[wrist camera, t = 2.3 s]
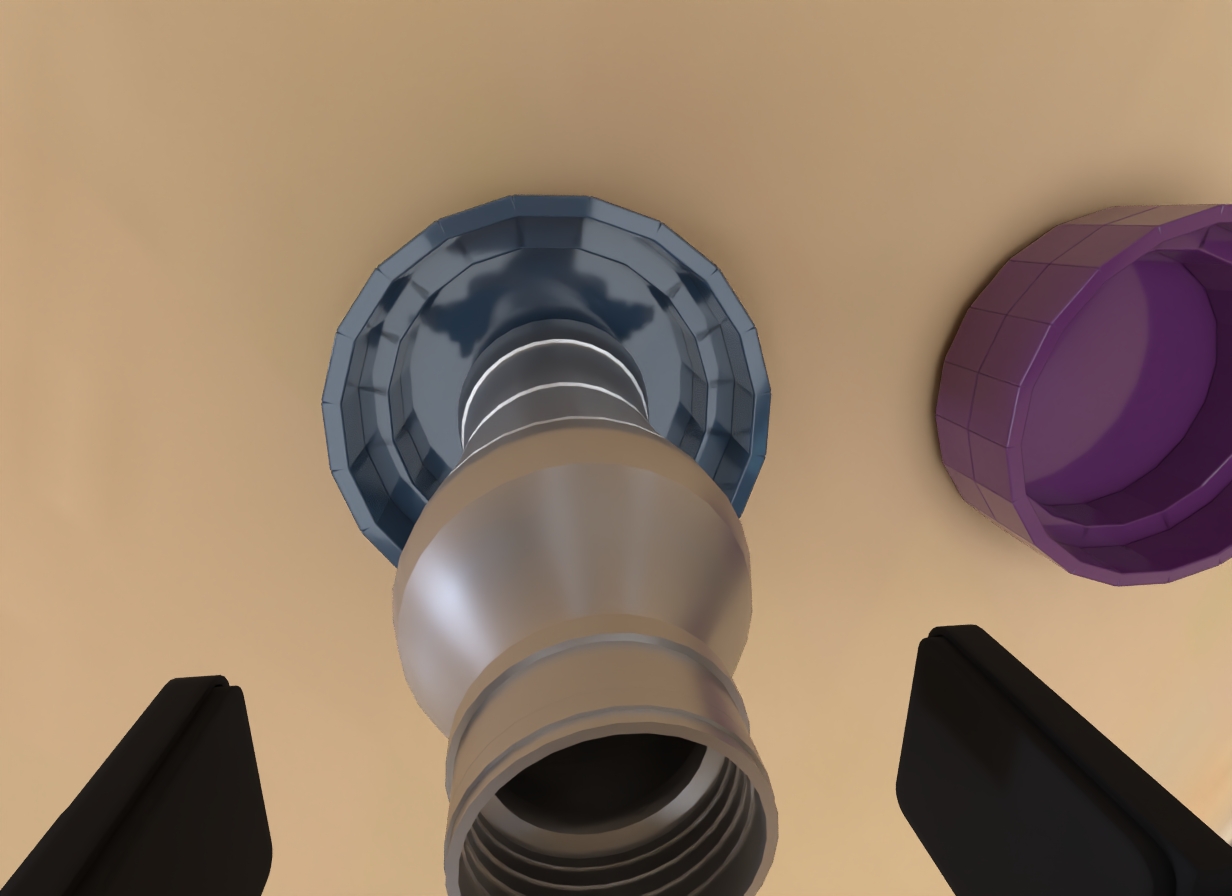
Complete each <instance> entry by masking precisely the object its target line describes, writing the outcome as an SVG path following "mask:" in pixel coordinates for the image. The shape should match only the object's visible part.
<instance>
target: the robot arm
mask: <svg viewBox="0 0 1232 896" xmlns="http://www.w3.org/2000/svg"><path fill="white" fill-rule="evenodd" d="M896 795H897V800H898V803H899V806H900V809H901V811H902V813H903V814H904V816H905V818H906V819H907V821H908V822H909V824H910V825H911V827H912V828H913V830H914V832H915V833H916V835H917V836H918V838H919V839H920V841H921V842H922V844H923V846H924V847H925V849H926V850H927V852H928V853H929V855H930V856H931V858H932V860H933V861H934V863H935V864H936V866H937V867H938V869H939V870H940V872H941V873H942V875H943V877H944V878H945V880H946V881H947V883H948V884H949V886H950V887H951V889H952V891H953V892H954V894H955V895H956V896H1232V847H1231V846H1230V845H1229V844H1228V843H1226V842H1225V841H1224V840H1223V839H1222V838H1221V837H1220V836H1218V835H1217V834H1216V833H1215V832H1214V831H1213V830H1212V829H1210V828H1209V827H1208V826H1207V825H1206V824H1205V823H1204V822H1202V821H1201V820H1200V819H1199V818H1198V817H1197V816H1196V815H1194V814H1193V813H1192V812H1191V811H1190V810H1189V809H1188V808H1186V807H1185V806H1184V805H1183V804H1182V803H1181V802H1180V801H1178V800H1177V799H1176V798H1175V797H1174V796H1173V795H1172V794H1170V793H1169V792H1168V791H1167V790H1166V789H1165V788H1164V787H1162V786H1161V785H1160V784H1159V783H1158V782H1157V781H1156V780H1154V779H1153V778H1152V777H1151V776H1150V775H1149V774H1148V773H1146V772H1145V771H1144V770H1143V769H1142V768H1141V767H1140V766H1138V765H1137V764H1136V763H1135V762H1134V761H1133V760H1132V759H1130V758H1129V757H1128V756H1127V755H1126V754H1125V753H1124V752H1122V751H1121V750H1120V749H1119V748H1118V747H1117V746H1116V745H1114V744H1113V743H1112V742H1111V741H1110V740H1109V739H1108V738H1106V737H1105V736H1104V735H1103V734H1102V733H1101V732H1100V731H1098V730H1097V729H1096V728H1095V727H1094V726H1093V725H1092V724H1090V723H1089V722H1088V721H1087V720H1086V719H1085V718H1084V717H1082V716H1081V715H1080V714H1079V713H1078V712H1077V711H1076V710H1074V709H1073V708H1072V707H1071V706H1070V705H1069V704H1068V703H1066V702H1065V701H1064V700H1063V699H1062V698H1061V697H1060V696H1058V695H1057V694H1056V693H1055V692H1054V691H1053V690H1052V689H1050V688H1049V687H1048V686H1047V685H1046V684H1045V683H1044V682H1042V681H1041V680H1040V679H1039V678H1038V677H1037V676H1036V675H1035V674H1033V673H1032V672H1031V671H1030V670H1029V669H1028V668H1027V667H1025V666H1024V665H1023V664H1022V663H1021V662H1020V661H1019V660H1017V659H1016V658H1015V657H1014V656H1013V655H1012V654H1011V653H1009V652H1008V651H1007V650H1006V649H1005V648H1004V647H1003V646H1001V645H1000V644H999V643H998V642H997V641H996V640H995V639H993V638H992V637H991V636H990V635H989V634H988V633H987V632H985V631H984V630H983V629H982V628H980V627H979V626H977V625H971V624H970V625H956V626H941V627H935V628H933V629H932V630H931V632H930V633H929V636H928V638H924V639H922V641H921V642H920V644H919V647H918V653H917V659H916V665H915V671H914V677H913V683H912V690H911V696H910V702H909V708H908V714H907V720H906V726H905V732H904V738H903V744H902V750H901V756H900V762H899V768H898V775H897V781H896ZM271 863H272V842H271V836H270V831H269V826H268V821H267V815H266V810H265V805H264V800H263V794H262V789H261V784H260V779H259V773H258V768H257V763H256V758H255V752H254V747H253V742H252V737H251V731H250V726H249V721H248V716H247V710H246V705H245V700H244V695H243V692H242V690H241V688H240V687H239V686H229V683H228V681H227V679H226V678H225V677H224V676H221V675H215V676H200V677H185V678H175V679H172V680H170V681H169V682H168V683H167V684H166V685H165V686H164V687H163V689H162V690H161V691H160V692H159V694H158V695H157V696H156V697H155V699H154V700H153V701H152V702H151V704H150V705H149V706H148V707H147V709H146V710H145V711H144V712H143V714H142V715H141V716H140V717H139V719H138V720H137V721H136V723H135V724H134V725H133V726H132V728H131V729H130V730H129V731H128V733H127V734H126V735H125V736H124V738H123V739H122V740H121V741H120V743H119V744H118V745H117V746H116V748H115V749H114V750H113V751H112V753H111V754H110V755H109V757H108V758H107V759H106V760H105V762H104V763H103V764H102V765H101V767H100V768H99V769H98V770H97V772H96V773H95V774H94V775H93V777H92V778H91V779H90V780H89V782H88V783H87V784H86V785H85V787H84V788H83V789H82V791H81V792H80V793H79V794H78V796H77V797H76V798H75V799H74V801H73V802H72V803H71V804H70V806H69V807H68V808H67V809H66V810H65V811H64V812H63V813H62V814H61V815H60V816H59V818H58V819H57V820H56V821H55V823H54V824H53V825H52V826H51V828H50V829H49V830H48V831H47V833H46V834H45V835H44V836H43V838H42V839H41V840H40V841H39V843H38V844H37V845H36V846H35V848H34V849H33V850H32V851H31V853H30V854H29V855H28V857H27V858H26V859H25V860H24V862H23V863H22V864H21V865H20V867H19V868H18V869H17V870H16V872H15V873H14V874H13V875H12V877H11V878H10V879H9V880H8V882H7V883H6V884H5V885H4V887H3V888H2V889H1V890H0V896H261V894H262V892H263V889H264V887H265V884H266V882H267V879H268V876H269V873H270V868H271Z"/></svg>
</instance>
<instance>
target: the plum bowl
mask: <svg viewBox="0 0 1232 896" xmlns="http://www.w3.org/2000/svg"><path fill="white" fill-rule="evenodd" d="M944 361H945V362H944V364H943V370H942V376H941V382H940V388H939V394H938V400H937V407H936V415H935V416H936V423H937V429H938V436H939V443H940V449H941V456H942V461H943V464H944V466H945V468H946V469H947V471H948V473H949V475H950V477H951V478H952V480H953V482H954V484H955V485H956V487H957V489H958V491H959V492H960V494H961V496H962V498H963V499H964V500H965V501H966V502H967V503H968V504H969V505H971V506H972V507H973V508H975V509H976V510H977V511H978V512H980V513H981V514H982V515H984V516H985V517H986V518H987V519H989V520H990V521H991V522H992V523H994V524H995V525H996V526H998V527H999V528H1001V529H1003V530H1004V531H1006V532H1007V533H1009V534H1010V535H1012V536H1013V537H1015V538H1016V539H1018V540H1019V541H1021V542H1023V543H1024V544H1026V545H1027V546H1029V547H1030V548H1032V549H1033V550H1035V551H1036V552H1038V553H1039V554H1041V555H1042V556H1044V557H1045V558H1047V559H1049V560H1050V561H1052V562H1053V563H1055V564H1056V565H1058V566H1059V567H1061V568H1062V569H1064V570H1065V571H1067V572H1068V573H1071V574H1073V575H1077V576H1080V577H1084V578H1087V579H1091V580H1095V581H1098V582H1102V583H1105V584H1109V585H1113V586H1134V585H1150V584H1165V583H1170V582H1173V581H1176V580H1179V579H1181V578H1184V577H1187V576H1190V575H1193V574H1196V573H1199V572H1201V571H1204V570H1207V569H1210V568H1213V567H1216V566H1219V564H1222V563H1224V562H1225V561H1227V560H1229V559H1230V558H1232V204H1200V205H1154V206H1115V207H1109V208H1106V209H1103V210H1101V211H1098V212H1095V213H1092V214H1089V215H1086V216H1083V217H1080V218H1077V219H1074V220H1071V221H1068V222H1065V223H1062V224H1060V225H1057V226H1056V227H1054V228H1053V229H1051V230H1050V231H1049V232H1047V233H1046V234H1044V235H1043V236H1041V237H1040V238H1039V239H1037V240H1036V241H1034V242H1033V243H1032V244H1030V245H1029V246H1027V247H1026V248H1025V249H1023V250H1022V251H1020V252H1019V253H1017V254H1016V255H1015V256H1013V257H1012V258H1010V259H1009V261H1008V262H1006V264H1005V265H1004V266H1003V267H1002V268H1001V270H1000V271H999V272H998V273H997V274H996V276H995V277H994V278H993V279H992V280H991V282H990V283H989V284H988V285H987V286H986V288H985V289H984V290H983V291H982V292H981V294H980V295H979V296H978V297H977V298H976V300H975V301H974V302H973V303H972V304H971V306H970V308H968V310H967V312H966V314H965V316H964V319H963V321H962V323H961V325H960V327H959V329H958V331H957V333H956V336H955V338H954V340H953V342H952V344H951V346H950V348H949V351H948V353H947V355H946V357H945V359H944Z"/></svg>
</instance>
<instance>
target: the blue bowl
mask: <svg viewBox="0 0 1232 896" xmlns="http://www.w3.org/2000/svg"><path fill="white" fill-rule="evenodd" d="M547 319H569V320H574V321H578V322H583V323H587V324H590V325H592V326H594V327H596V328H598V329H600V330H603V331H605V332H607V333H608V334H609V335H610V336H612V337H613V338H614V339H616V340H617V341H618V342H620V343H621V344H622V345H623V347H624V348H625V349H626V350H627V351H628V352H629V354H630V355H631V356H632V357H633V359H634V361H635V362H636V364H637V366H638V368H639V370H640V372H641V374H642V377H643V381H644V384H645V387H646V391H647V398H648V408H649V424H650V425H651V426H652V427H653V429H654V430H655V431H656V432H657V433H659V434H660V435H661V436H663V437H664V438H665V439H667V440H668V441H670V442H671V443H673V444H674V445H675V446H677V447H678V448H679V449H681V450H682V451H684V452H685V453H686V454H688V455H689V456H690V457H692V458H693V459H694V460H695V462H696V463H697V464H698V465H699V466H700V467H701V468H702V469H703V470H704V471H705V472H706V473H707V474H708V476H709V477H710V478H711V479H712V480H713V481H714V482H715V483H716V485H717V486H718V487H719V488H720V489H721V490H722V491H723V493H724V494H725V495H726V496H727V497H728V499H729V501H730V503H731V505H732V507H733V509H734V511H735V512H736V514H737V516H738V518H740V517H741V514H742V513H743V511H744V508H745V506H746V503H747V501H748V499H749V496H750V494H751V491H752V489H753V486H754V484H755V482H756V479H757V477H758V474H759V472H760V469H761V467H762V465H763V462H764V460H765V455H766V450H767V438H768V426H769V414H770V402H771V392H770V391H771V388H770V383H769V379H768V375H767V371H766V367H765V363H764V358H763V354H762V350H761V346H760V342H759V338H758V333H757V329H756V327H755V324H754V323H753V321H752V320H751V318H750V316H749V315H748V313H747V312H746V310H745V309H744V307H743V305H742V304H741V302H740V301H739V299H738V297H737V296H736V294H735V293H734V291H733V289H732V288H731V286H730V285H729V283H728V282H727V280H726V278H725V277H724V275H723V274H722V272H721V270H720V269H719V268H718V267H717V266H716V265H715V264H714V263H713V262H711V261H710V260H709V259H708V258H706V257H705V256H704V255H703V254H701V253H700V252H699V251H698V250H696V249H695V248H694V247H693V246H691V245H690V244H689V243H688V242H686V241H685V240H684V239H683V238H681V237H680V236H679V235H678V234H677V233H675V232H674V231H673V230H672V229H670V228H669V227H668V226H667V225H665V224H664V223H661V221H659V220H656V219H653V218H651V217H648V216H645V215H642V214H639V213H637V212H634V211H631V210H628V209H626V208H623V207H620V206H617V205H614V204H612V203H609V202H606V201H603V200H601V199H598V198H595V197H592V196H590V197H589V196H577V195H513V196H511V195H509V196H506V197H503V198H500V199H497V200H494V201H491V202H488V203H485V204H482V205H479V206H476V207H473V208H470V209H467V210H464V211H461V212H458V213H455V214H452V215H449V216H446V217H443V218H440V219H439V220H438V221H435V222H433V223H432V224H431V225H430V226H428V227H427V228H426V229H424V230H423V231H422V232H421V233H419V234H418V235H417V236H415V237H414V238H413V239H412V240H410V241H409V242H408V243H407V244H405V245H404V246H403V247H401V248H400V249H399V250H398V251H396V252H395V253H394V254H392V255H391V256H390V257H389V258H387V259H386V260H385V261H383V262H382V263H381V264H380V265H378V267H377V268H376V269H375V270H374V271H373V273H372V274H371V276H370V278H369V279H368V281H367V282H366V284H365V286H364V287H363V289H362V290H361V292H360V294H359V295H358V297H357V298H356V300H355V302H354V303H353V305H352V306H351V308H350V310H349V311H348V313H347V314H346V316H345V317H344V319H343V321H342V322H341V324H340V325H339V327H338V329H337V332H336V334H335V339H334V344H333V348H332V353H331V358H330V362H329V367H328V372H327V376H326V381H325V386H324V390H323V395H322V403H321V406H322V413H323V420H324V428H325V435H326V443H327V450H328V458H329V465H330V470H331V473H332V475H333V477H334V479H335V481H336V483H337V485H338V487H339V489H340V491H341V493H342V495H343V497H344V499H345V501H346V503H347V505H348V507H349V509H350V511H351V513H352V515H353V517H354V519H355V521H356V523H357V525H358V527H359V529H360V531H362V534H363V535H364V536H365V537H366V538H367V539H368V540H369V541H370V542H371V543H372V544H373V545H374V546H375V547H376V548H377V549H378V550H379V551H380V552H381V553H382V554H383V555H384V556H385V557H386V558H387V559H388V560H389V561H390V562H391V563H392V564H393V565H394V566H395V567H396V568H397V567H398V563H399V559H400V555H401V553H402V551H403V549H404V547H405V545H406V542H407V540H408V538H409V536H410V534H411V532H412V530H413V528H414V525H415V524H416V522H417V520H418V518H419V517H420V515H421V513H422V511H423V509H424V507H425V505H426V504H427V502H428V501H429V500H430V498H431V497H432V496H433V494H434V493H435V492H436V490H437V489H438V488H439V486H440V485H441V484H442V482H443V481H444V480H445V478H447V477H448V475H449V474H450V473H451V471H452V470H453V469H454V468H455V466H456V465H457V464H458V463H459V461H460V459H461V457H462V454H463V452H462V447H461V442H460V437H459V430H458V402H459V398H460V394H461V389H462V385H463V383H464V381H465V379H466V377H467V374H468V372H469V370H470V368H471V367H472V365H473V364H474V362H475V361H476V360H477V358H478V357H479V356H480V354H481V353H482V352H483V351H484V350H485V349H486V348H487V347H488V346H489V345H490V344H492V343H493V342H494V341H495V340H496V339H497V338H499V337H501V336H502V335H504V334H505V333H507V332H509V331H510V330H512V329H514V328H517V327H519V326H522V325H525V324H528V323H530V322H534V321H541V320H547Z"/></svg>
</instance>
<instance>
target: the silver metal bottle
mask: <svg viewBox="0 0 1232 896" xmlns="http://www.w3.org/2000/svg"><path fill="white" fill-rule="evenodd" d="M458 430H459V437H460V442H461V447H462V452H463V454H462V457H461V459H460V461H459V463H458V464H457V465H456V466H455V468H454V469H453V470H452V471H451V473H450V474H449V475H448V477H447V478H445V480H444V481H443V482H442V484H441V485H440V486H439V488H438V489H437V490H436V492H435V493H434V494H433V496H432V497H431V498H430V500H429V501H428V502H427V504H426V505H425V507H424V509H423V511H422V513H421V515H420V517H419V518H418V520H417V522H416V524H415V525H414V528H413V530H412V532H411V534H410V536H409V538H408V540H407V542H406V545H405V547H404V549H403V551H402V553H401V555H400V559H399V563H398V567H397V572H396V576H395V581H394V585H393V624H394V630H395V635H396V640H397V646H398V651H399V655H400V659H401V663H402V667H403V671H404V675H405V679H406V681H407V683H408V685H409V687H410V689H411V691H412V693H413V695H414V697H415V699H416V701H417V703H418V705H419V706H420V708H421V709H422V710H423V711H424V712H425V714H426V715H427V716H428V717H429V719H430V720H431V721H432V722H433V723H434V725H435V726H436V727H437V728H438V729H439V730H440V731H441V732H442V733H443V734H444V735H445V736H446V737H447V738H448V739H449V741H448V749H447V757H446V782H445V786H446V791H447V795H448V799H449V811H448V819H447V828H446V835H445V844H444V871H445V875H446V889H447V893H448V896H755V895H756V893H757V892H758V890H759V889H760V888H761V886H762V884H763V882H764V880H765V878H766V876H767V874H768V871H769V869H770V867H771V865H772V863H773V860H774V855H775V851H776V846H777V842H778V811H777V808H776V805H775V798H774V793H773V790H772V787H771V783H770V780H769V777H768V773H767V771H766V769H765V767H764V765H763V763H762V761H761V759H760V756H759V754H758V752H757V750H756V748H755V745H754V743H753V741H752V739H751V737H750V726H749V720H748V716H747V713H746V710H745V706H744V703H743V700H742V698H741V696H740V693H739V691H738V689H737V687H736V685H735V683H734V681H733V679H732V676H733V674H734V672H735V669H736V667H737V664H738V662H739V659H740V657H741V654H742V652H743V649H744V647H745V644H746V642H747V638H748V632H749V627H750V621H751V616H752V590H751V570H750V553H749V549H748V546H747V542H746V538H745V535H744V531H743V527H742V524H741V522H740V520H739V518H738V516H737V514H736V512H735V511H734V509H733V507H732V505H731V503H730V501H729V499H728V497H727V496H726V495H725V494H724V493H723V491H722V490H721V489H720V488H719V487H718V486H717V485H716V483H715V482H714V481H713V480H712V479H711V478H710V477H709V476H708V474H707V473H706V472H705V471H704V470H703V469H702V468H701V467H700V466H699V465H698V464H697V463H696V462H695V460H694V459H693V458H692V457H690V456H689V455H688V454H686V453H685V452H684V451H682V450H681V449H679V448H678V447H677V446H675V445H674V444H673V443H671V442H670V441H668V440H667V439H665V438H664V437H663V436H661V435H660V434H659V433H657V432H656V431H655V430H654V429H653V427H652V426H651V425H650V424H649V408H648V398H647V391H646V387H645V384H644V381H643V377H642V374H641V372H640V370H639V368H638V366H637V364H636V362H635V361H634V359H633V357H632V356H631V355H630V354H629V352H628V351H627V350H626V349H625V348H624V347H623V345H622V344H621V343H620V342H618V341H617V340H616V339H614V338H613V337H612V336H610V335H609V334H608V333H607V332H605V331H603V330H600V329H598V328H596V327H594V326H592V325H590V324H587V323H583V322H578V321H574V320H569V319H547V320H541V321H534V322H530V323H528V324H525V325H522V326H519V327H517V328H514V329H512V330H510V331H509V332H507V333H505V334H504V335H502V336H501V337H499V338H497V339H496V340H495V341H494V342H493V343H492V344H490V345H489V346H488V347H487V348H486V349H485V350H484V351H483V352H482V353H481V354H480V356H479V357H478V358H477V360H476V361H475V362H474V364H473V365H472V367H471V368H470V370H469V372H468V374H467V377H466V379H465V381H464V383H463V385H462V389H461V394H460V398H459V402H458Z"/></svg>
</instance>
